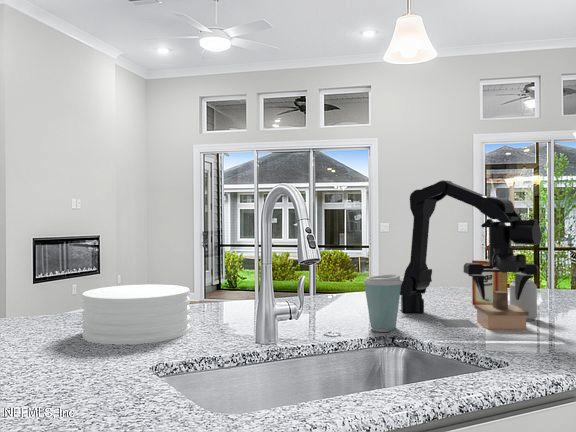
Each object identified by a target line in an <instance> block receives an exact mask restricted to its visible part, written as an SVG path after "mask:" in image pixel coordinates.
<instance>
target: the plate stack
mask: <svg viewBox="0 0 576 432" xmlns="http://www.w3.org/2000/svg"><path fill="white" fill-rule="evenodd" d="M190 290H191V289H190V288H189V287H187V286H184V285H183V286H182V285H176V284H175V285H174V284H159V283H158V284H156V283H155V284H154V283H153V284H152V283H149V284H147V283H146V284H126V285H125V284H123V285H113V286H106V287H99V288H93V289H89V290H86V291H83V292H82V294H81V295H82V296H81V299H82V300H83V302H82V303H81V306H82V307H81V309H82V310H83V312H82V313H81V315H82V316H81V317H82V320H83V321H82V325H81V326H82V327H81V328H82V329H83V330H82V333H81V334H82V337H83V338H82V339H83V340H84V339H85V340H84V341H86V340H87V341H86V342H89V343H93V344H98V343H100V345H110V344H111V346H113V345H112V344H115V345H114V346H118V345H119V346H123V345H124V346H125V344H130V345H143V344H144V343H145V344H151V343H152V344H153V343H159V342H160V343H161V342H165V341H170V340H174V339H177V337H178V338H181V337H183V336H185V335H187V334H188V333H189V332H190V331H191V325H190V324H189V323H191V322H190V321H191V316H190V315H189V314H190V313H191V308H190V306H189V304H190V303H191V299H190V296H189V295H190V293H191V291H190ZM186 333H187V334H186ZM184 334H185V335H184ZM182 335H183V336H182ZM180 336H181V337H180ZM122 344H123V345H122Z"/></svg>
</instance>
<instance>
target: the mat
mask: <svg viewBox="0 0 576 432" xmlns="http://www.w3.org/2000/svg"><path fill="white" fill-rule="evenodd" d="M437 321H438V322H439V323H441V324H442V325H443V326H444V327H446V328H479V326H478V325H477V324H475V323H474V322H473V321H471V320H470V319H454V318H453V319H452V318H451V319H448V318H447V319H445V318H444V319H443V318H442V319H439V318H438V319H437Z"/></svg>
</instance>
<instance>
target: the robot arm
mask: <svg viewBox="0 0 576 432" xmlns="http://www.w3.org/2000/svg"><path fill="white" fill-rule="evenodd" d="M447 196H448V197H450V198H453V199H454V200H457V201H460V202H463V203H465V204H468V205H469V206H472V207H474V208H475V209H477V210H478V211H479V212H480V213H482V214H483V215H484V216H486V217H488V218H487V219H486V220H485V221H484V222H483V223H482V224H481V225H480V227H481V228H488V247H487V251H488V255H489V256H488V260H489V261H488V265H489V266H483V264H480V263H472V262H465V264H464V265H463V273H464V274H467V275H468V276H469V277H471V278H472V277H473V279H474V281H475V283H476V285H477V287H478V290H479V292H480V295H481V297H482V299H483V300H485V289H484V277H485V276H483V275H482V273H483V272H502V273H506V272H507V273H513V274H515V275H514V279H515V296H516V300H519V298H520V295H521V293H522V290H523V287H524V285H525V283H526V282H527V280H528V279H529V280H530V279H533V278H534V275H535V276H538V275H539V266H538V265H537V264H536V263H531V262H527V256H526V254H523V253H520V254H519V253H518V254H516V255H514V249H513V247H512V242H513V243H514V244H515V245H524V246H527V245H528V246H539V244H540V243H541V241H542V235H543V231H542V229H541V227H540V225H539V222H538V221H539V220H538V219H532V218H531V219H522V218H521V217H520V214H518V213H517V211H516V210H515V205H514V203H513V202H512V200H510V199H508V198H507V199H506V198H501V197H495V196H489V195H484V194H482V193H479V192H477V191H474V190H472V189H469V188H467V187H465V186H461V185H459V184H456V183H454V182H453V181H450V180H445V179H443V180H439V181H437V182H436V183H433V184H430V185H429V186H425V187H423V188H421V189H415V190H413V191H412V192H411V193H410V195H409V208H410V211H411V214H412V216H413V221H412V222H413V223H412V234H411V235H412V236H411V246H410V247H411V248H410V249H411V250H410V261H409V264H408V265H407V266H406V268H405V270H404V274H403V278H402V280H401V281H402V284H401V290H400V309H399V311H400V312H401V313H402V314H404V315H406V314H413V315H414V314H415V315H416V314H420V315H421V314H424V312H425V300H424V298H423V295H424V294H425V293H426V291H427V288H428V287H430V283H432V282H433V280H432V275H433V269H432V268H428V265H427V255H428V242H429V231H430V219H431V217H432V215H433V214H434V212H435V209H436V206H437V203H438V202H439V201H442V200H444V198H445V197H447ZM494 220H497V221H494ZM507 223H508V224H510V225H506V224H507ZM493 267H497V268H494V269H493Z"/></svg>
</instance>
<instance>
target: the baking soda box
mask: <svg viewBox="0 0 576 432" xmlns="http://www.w3.org/2000/svg"><path fill="white" fill-rule="evenodd" d="M488 261H489V259H476V260H472V261H471V263H480V264H483V266H489V265H488ZM494 268H497V267H493V269H494ZM482 275H483V276H485V277H484V289H485V300H483V299H482V297H481V295H480V292H479V290H478V287H477V285H476V283H475V281H474V279H473V277H471V278H472V279H471V280H472V281H471V285H472V289H471V291H472V292H471V293H472V294H471V295H472V296H471V297H472V306H474V305H493V291H505V292H507V293H508V272H506V273H502V272H483V273H482ZM508 294H509V293H508Z"/></svg>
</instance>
